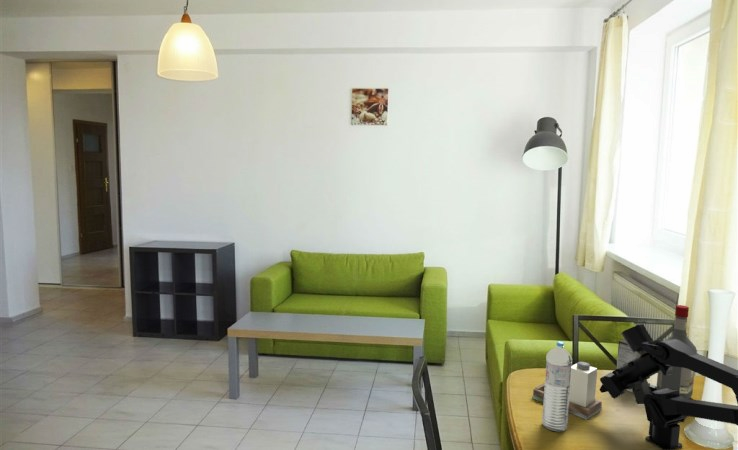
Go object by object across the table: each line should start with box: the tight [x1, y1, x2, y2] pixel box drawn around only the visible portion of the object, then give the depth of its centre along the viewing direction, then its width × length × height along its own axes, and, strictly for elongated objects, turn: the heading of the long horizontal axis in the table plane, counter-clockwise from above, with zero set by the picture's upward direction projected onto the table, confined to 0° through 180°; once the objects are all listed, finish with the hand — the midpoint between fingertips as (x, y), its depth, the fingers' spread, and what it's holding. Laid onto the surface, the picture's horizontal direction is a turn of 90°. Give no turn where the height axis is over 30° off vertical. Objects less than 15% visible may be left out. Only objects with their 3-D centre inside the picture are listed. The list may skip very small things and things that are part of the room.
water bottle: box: [541, 340, 573, 433], centre depth 145 cm, size 7×7×25 cm
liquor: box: [656, 304, 698, 399], centre depth 167 cm, size 9×9×30 cm
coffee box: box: [616, 338, 646, 393], centre depth 174 cm, size 9×6×16 cm
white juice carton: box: [569, 361, 598, 408], centre depth 157 cm, size 6×6×13 cm
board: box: [531, 382, 603, 420], centre depth 161 cm, size 18×10×3 cm, turn 42°
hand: (600, 391), depth 153 cm, fingers closed
